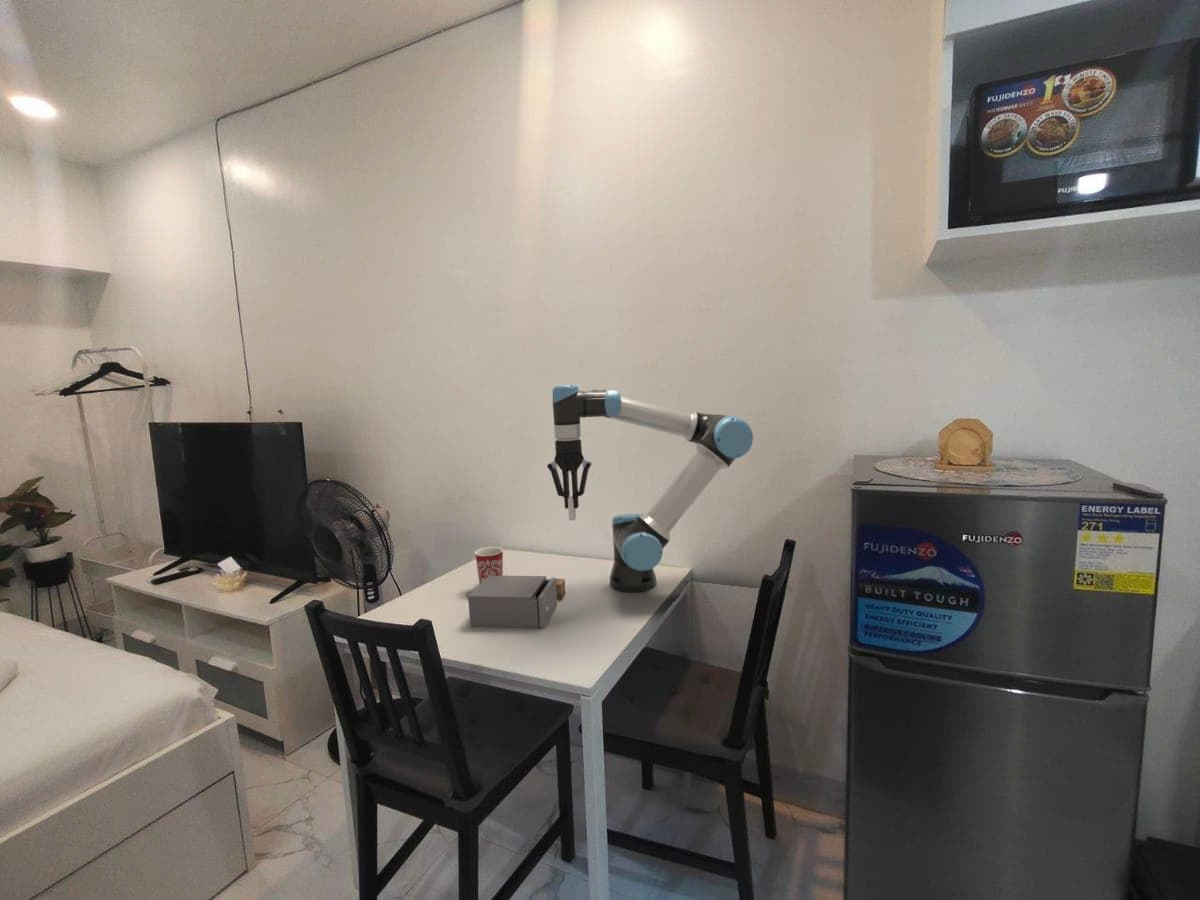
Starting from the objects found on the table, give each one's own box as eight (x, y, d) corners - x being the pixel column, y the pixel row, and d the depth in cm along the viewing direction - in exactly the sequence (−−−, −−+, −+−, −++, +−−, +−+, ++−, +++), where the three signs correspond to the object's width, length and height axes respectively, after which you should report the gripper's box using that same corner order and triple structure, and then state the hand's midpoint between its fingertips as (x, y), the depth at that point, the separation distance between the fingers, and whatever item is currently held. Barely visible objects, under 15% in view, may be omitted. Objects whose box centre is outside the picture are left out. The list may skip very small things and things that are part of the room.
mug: (505, 594, 170) (502, 553, 169) (476, 597, 169) (473, 556, 168) (507, 580, 183) (504, 542, 181) (480, 583, 182) (477, 544, 180)
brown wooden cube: (565, 594, 168) (564, 578, 168) (561, 600, 164) (561, 584, 163) (550, 593, 169) (549, 578, 169) (546, 600, 164) (545, 584, 164)
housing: (552, 604, 160) (551, 576, 159) (538, 629, 145) (536, 597, 144) (491, 603, 164) (488, 575, 163) (470, 627, 148) (468, 596, 147)
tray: (559, 604, 160) (557, 577, 159) (546, 627, 145) (544, 597, 144) (494, 603, 163) (492, 576, 162) (475, 625, 148) (473, 596, 147)
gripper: (592, 437, 156) (596, 515, 159) (549, 438, 158) (553, 516, 161) (587, 439, 149) (592, 522, 151) (542, 441, 151) (547, 522, 154)
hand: (572, 519), depth 156 cm, fingers closed
